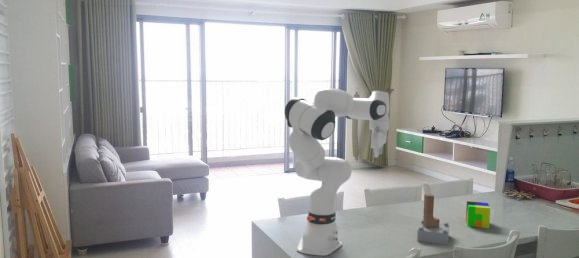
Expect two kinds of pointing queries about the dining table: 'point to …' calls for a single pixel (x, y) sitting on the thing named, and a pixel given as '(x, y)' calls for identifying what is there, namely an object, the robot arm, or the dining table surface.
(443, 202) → the dining table surface
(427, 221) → the wooden block
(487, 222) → the puzzle toy
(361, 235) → the dining table surface
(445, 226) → the base brick
